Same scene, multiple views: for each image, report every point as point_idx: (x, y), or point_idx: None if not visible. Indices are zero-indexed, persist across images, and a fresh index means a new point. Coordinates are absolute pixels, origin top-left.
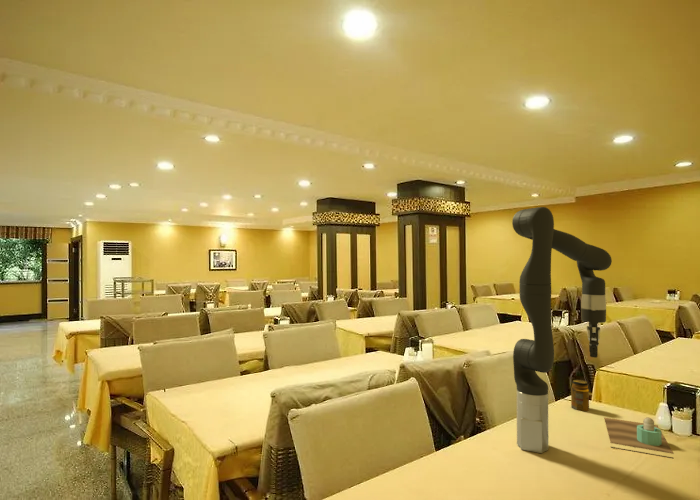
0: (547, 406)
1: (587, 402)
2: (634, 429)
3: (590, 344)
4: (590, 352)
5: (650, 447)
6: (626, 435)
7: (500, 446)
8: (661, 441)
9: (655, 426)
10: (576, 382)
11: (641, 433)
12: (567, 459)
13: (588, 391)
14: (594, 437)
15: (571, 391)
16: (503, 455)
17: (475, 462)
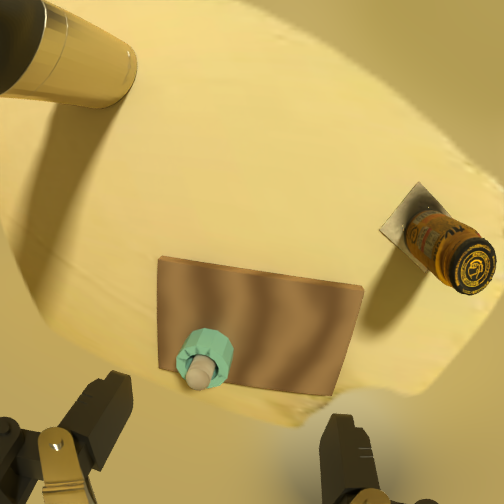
0: (18, 98)
1: (423, 264)
2: (283, 343)
3: (6, 420)
4: (98, 392)
5: (170, 339)
6: (228, 312)
7: (88, 17)
8: None
9: (322, 390)
10: (462, 251)
11: (186, 343)
12: (66, 149)
13: (444, 283)
14: (218, 230)
15: (459, 223)
16: None
17: None
